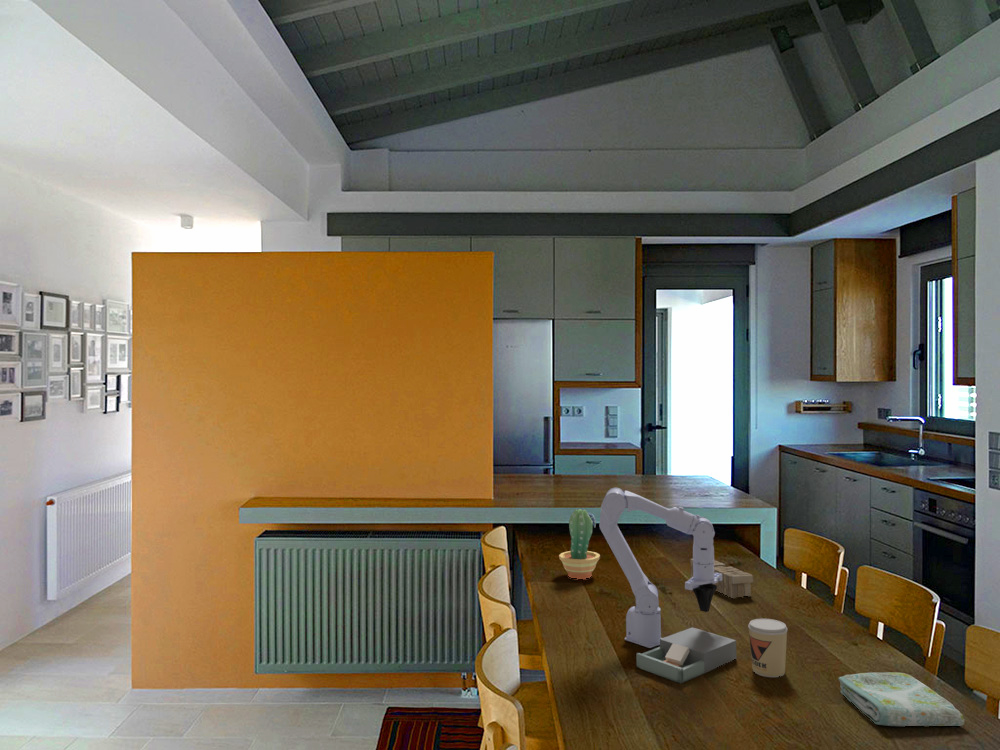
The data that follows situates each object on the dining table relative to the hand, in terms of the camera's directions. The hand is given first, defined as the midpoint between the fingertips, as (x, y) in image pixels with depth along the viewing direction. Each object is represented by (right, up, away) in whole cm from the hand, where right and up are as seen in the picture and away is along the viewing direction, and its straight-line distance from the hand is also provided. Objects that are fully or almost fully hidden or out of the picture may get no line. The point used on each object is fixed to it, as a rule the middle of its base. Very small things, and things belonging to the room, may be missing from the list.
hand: (704, 610), depth 212 cm
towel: (+32, -10, -42) cm, 53 cm away
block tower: (+20, -9, +56) cm, 60 cm away
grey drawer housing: (-4, -10, -10) cm, 15 cm away
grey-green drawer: (-14, -10, -18) cm, 24 cm away
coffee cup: (+11, -10, -20) cm, 24 cm away
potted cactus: (-27, -10, +73) cm, 79 cm away
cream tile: (-11, -7, -16) cm, 21 cm away
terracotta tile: (-14, -8, -19) cm, 25 cm away
